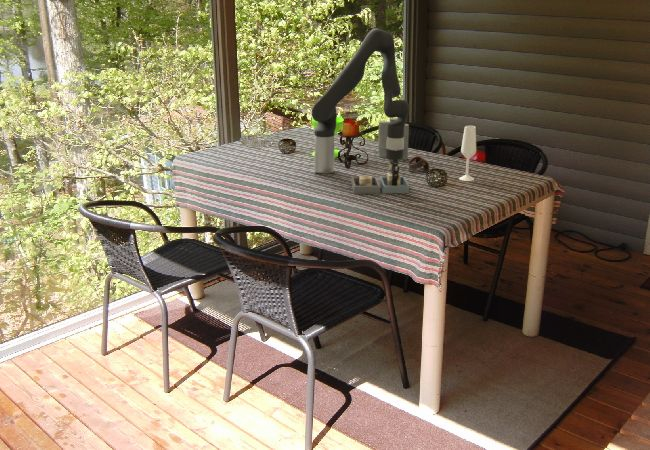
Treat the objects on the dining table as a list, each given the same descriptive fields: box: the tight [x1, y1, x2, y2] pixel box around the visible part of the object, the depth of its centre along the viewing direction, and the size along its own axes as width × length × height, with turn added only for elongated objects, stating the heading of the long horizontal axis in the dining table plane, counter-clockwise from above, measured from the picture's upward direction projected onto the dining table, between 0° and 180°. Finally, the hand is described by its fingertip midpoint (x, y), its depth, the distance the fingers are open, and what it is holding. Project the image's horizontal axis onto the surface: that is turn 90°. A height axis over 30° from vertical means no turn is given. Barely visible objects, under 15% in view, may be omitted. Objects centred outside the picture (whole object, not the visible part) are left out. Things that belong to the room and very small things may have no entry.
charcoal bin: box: [351, 176, 381, 195], centre depth 317 cm, size 11×14×4 cm
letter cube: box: [386, 172, 402, 186], centre depth 316 cm, size 5×5×5 cm
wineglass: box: [311, 116, 345, 159], centre depth 370 cm, size 16×16×18 cm
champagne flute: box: [458, 125, 477, 182], centre depth 328 cm, size 7×7×24 cm
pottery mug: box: [408, 155, 431, 172], centre depth 345 cm, size 12×10×8 cm
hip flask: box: [377, 117, 410, 161], centre depth 364 cm, size 16×4×20 cm, turn 60°
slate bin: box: [379, 176, 410, 194], centre depth 317 cm, size 11×14×4 cm
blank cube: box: [358, 175, 372, 186], centre depth 316 cm, size 5×5×5 cm
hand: (393, 185), depth 317 cm, fingers closed on letter cube, 5 cm apart
